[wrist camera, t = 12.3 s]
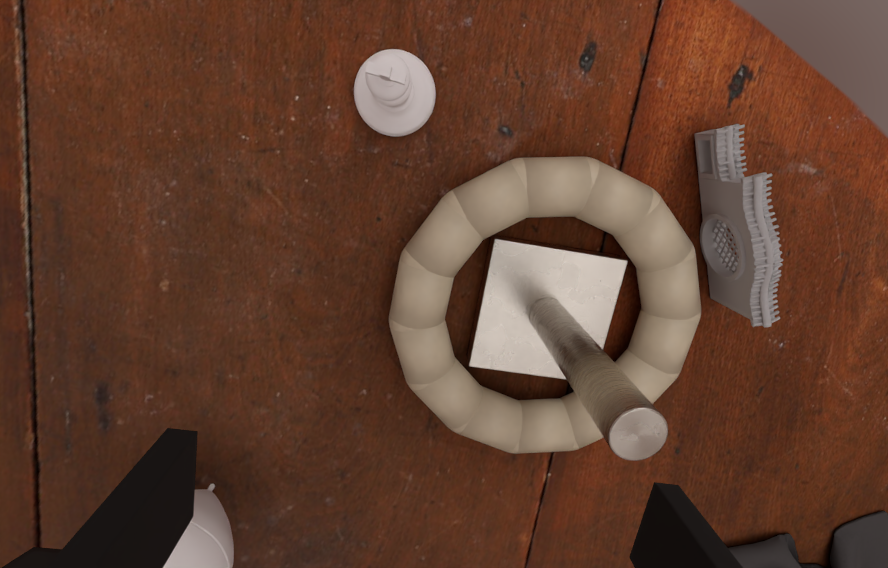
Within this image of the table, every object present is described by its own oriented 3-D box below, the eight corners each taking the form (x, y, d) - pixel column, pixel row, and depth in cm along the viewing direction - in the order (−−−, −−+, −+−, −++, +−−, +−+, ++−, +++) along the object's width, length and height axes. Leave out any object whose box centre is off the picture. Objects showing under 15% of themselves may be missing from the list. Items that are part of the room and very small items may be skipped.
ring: (370, 413, 36) (365, 442, 32) (425, 121, 30) (426, 119, 27) (629, 453, 38) (650, 484, 34) (723, 188, 32) (760, 193, 29)
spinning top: (252, 433, 35) (175, 573, 24) (275, 519, 38) (213, 685, 26) (146, 447, 35) (17, 595, 24) (175, 533, 37) (68, 706, 26)
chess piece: (423, 146, 31) (427, 147, 21) (345, 123, 30) (312, 113, 20) (445, 64, 29) (459, 26, 20) (364, 38, 29) (339, -15, 19)
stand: (466, 357, 35) (503, 517, 20) (491, 234, 32) (555, 311, 17) (586, 373, 36) (709, 539, 21) (619, 255, 33) (784, 346, 18)
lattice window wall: (688, 130, 31) (749, 128, 26) (716, 123, 31) (782, 119, 25) (705, 302, 35) (762, 334, 29) (730, 296, 35) (792, 326, 29)
